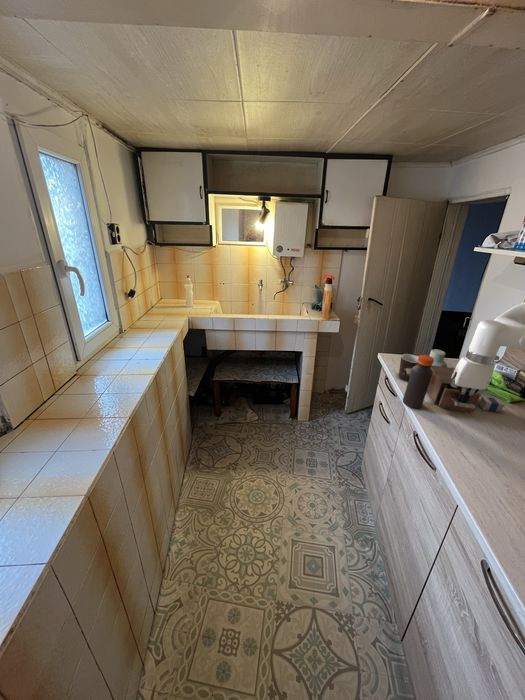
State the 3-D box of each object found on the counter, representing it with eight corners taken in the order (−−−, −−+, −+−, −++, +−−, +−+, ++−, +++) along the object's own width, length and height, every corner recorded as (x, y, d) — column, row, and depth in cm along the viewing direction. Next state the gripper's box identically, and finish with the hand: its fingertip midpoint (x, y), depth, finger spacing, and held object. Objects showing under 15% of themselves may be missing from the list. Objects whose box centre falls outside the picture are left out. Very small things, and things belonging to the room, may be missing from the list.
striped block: (495, 406, 109) (499, 398, 108) (500, 412, 106) (504, 404, 104) (478, 403, 111) (481, 396, 109) (482, 409, 107) (486, 401, 106)
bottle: (410, 409, 105) (425, 362, 97) (398, 399, 111) (411, 354, 103) (425, 408, 107) (441, 361, 98) (413, 398, 113) (427, 353, 104)
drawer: (478, 420, 100) (487, 402, 96) (443, 414, 102) (450, 396, 99) (459, 393, 116) (465, 376, 112) (429, 388, 118) (434, 372, 115)
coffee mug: (392, 377, 127) (397, 357, 123) (400, 371, 133) (406, 352, 128) (419, 388, 120) (425, 367, 115) (426, 381, 125) (433, 361, 121)
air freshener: (430, 364, 141) (436, 346, 136) (447, 371, 134) (454, 353, 130) (417, 369, 135) (423, 350, 131) (434, 377, 129) (440, 357, 125)
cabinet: (470, 409, 107) (479, 388, 103) (434, 403, 110) (441, 382, 105) (456, 389, 120) (464, 369, 116) (424, 384, 122) (430, 365, 118)
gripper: (499, 355, 96) (479, 400, 103) (451, 349, 99) (435, 393, 106) (511, 365, 89) (489, 412, 97) (459, 358, 92) (441, 404, 100)
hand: (461, 402), depth 102 cm, fingers closed
